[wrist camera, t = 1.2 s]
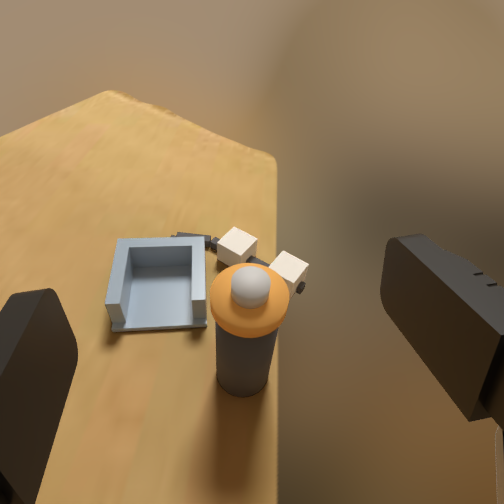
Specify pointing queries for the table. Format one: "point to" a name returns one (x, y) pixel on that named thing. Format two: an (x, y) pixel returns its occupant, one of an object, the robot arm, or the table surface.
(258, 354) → the grey and orange bottle
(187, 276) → the end holder
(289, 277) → the routed cable
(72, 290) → the table surface
